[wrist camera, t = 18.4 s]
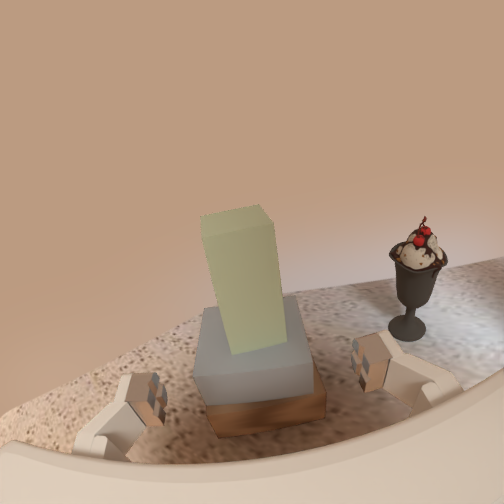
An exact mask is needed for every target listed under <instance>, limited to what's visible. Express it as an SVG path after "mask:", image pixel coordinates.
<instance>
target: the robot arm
mask: <svg viewBox="0 0 504 504" xmlns="http://www.w3.org/2000/svg"><path fill="white" fill-rule="evenodd" d="M352 346H353V348H354V351H353V352H352V356H351V360H352V366H353V369H354V372H355V374H356V375H358V376H360V379H359V383H360V385H361V387H362V389H363V391H364V393H367V392H370V391H373V390H377V389H380V388H383V389H384V390H386V391H387V392H389V393H390V394H392V395H393V396H395V397H396V398H398V399H399V400H401V401H402V402H404V403H405V404H407V405H408V406H410V407H411V408H413V409H412V411H411V413H410V415H409V418H408V419H405V420H403V421H400V422H398V423H395V424H392V425H390V426H387V427H384V428H382V429H379V430H376V431H373V432H370V433H367V434H364V435H361V436H358V437H354V438H351V439H348V440H344V441H341V442H337V443H333V444H330V445H326V446H322V447H317V448H313V449H309V450H304V451H299V452H294V453H289V454H284V455H278V456H272V457H266V458H259V459H251V460H243V461H233V462H221V463H204V464H150V463H134V462H132V461H131V460H130V459H128V458H127V457H126V456H125V455H126V454H127V452H128V451H129V450H130V448H131V447H132V446H133V444H134V443H135V442H136V440H137V439H138V438H139V436H140V435H141V434H142V432H143V431H144V430H145V428H146V426H164V423H165V415H166V413H165V412H164V410H163V409H164V408H165V407H166V406H167V392H166V389H165V387H164V385H163V384H161V383H159V379H160V378H159V376H158V375H157V373H129V374H123V375H122V376H121V379H120V382H119V385H118V388H117V392H116V395H115V398H114V402H110V403H109V404H108V405H107V406H106V407H105V408H104V409H102V410H101V411H100V412H99V413H98V414H97V415H96V416H95V417H94V418H93V419H92V420H91V421H90V422H88V423H87V424H86V425H85V426H84V427H83V428H82V429H81V430H80V431H79V432H78V433H77V437H76V440H75V443H74V446H73V450H72V453H71V454H69V453H64V452H59V451H55V450H50V449H46V448H42V447H39V446H35V445H31V444H28V443H25V442H21V441H18V440H11V441H9V442H8V443H6V444H5V445H3V446H2V447H1V448H0V504H504V367H503V368H502V369H500V370H499V371H497V372H496V373H494V374H493V375H491V376H490V377H488V378H486V379H485V380H483V381H481V382H480V383H478V384H476V385H475V386H473V387H471V388H469V389H468V390H466V391H464V390H463V389H462V387H461V386H460V384H459V383H458V381H457V380H456V379H455V377H454V376H453V374H452V373H451V372H450V371H447V370H445V369H443V368H440V367H438V366H436V365H434V364H431V363H429V362H427V361H424V360H422V359H420V358H418V357H415V356H413V355H411V354H409V353H406V354H404V352H403V351H402V349H401V348H400V346H399V345H398V344H397V342H396V341H395V339H394V338H393V336H392V335H391V333H390V332H389V331H388V330H383V331H380V332H376V333H373V334H370V335H366V336H363V337H359V338H356V339H354V340H353V344H352Z"/></svg>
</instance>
